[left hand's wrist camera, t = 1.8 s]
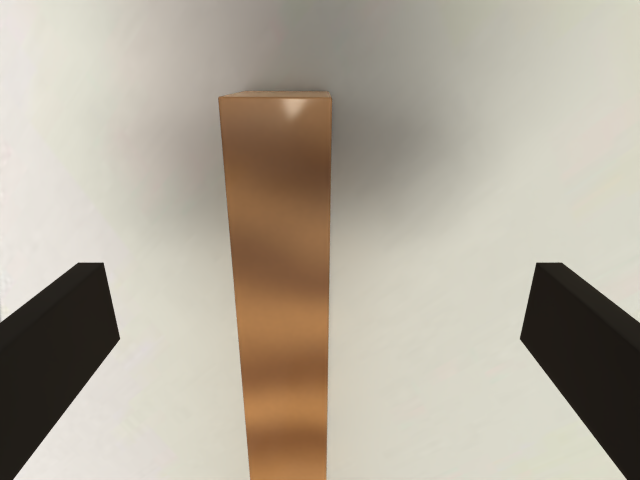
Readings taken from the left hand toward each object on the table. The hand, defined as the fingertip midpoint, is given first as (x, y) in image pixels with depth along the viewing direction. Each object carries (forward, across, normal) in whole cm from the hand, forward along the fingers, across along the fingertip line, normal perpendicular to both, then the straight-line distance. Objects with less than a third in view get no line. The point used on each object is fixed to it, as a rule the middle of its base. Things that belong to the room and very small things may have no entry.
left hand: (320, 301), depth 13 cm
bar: (+17, -2, -24) cm, 29 cm away
